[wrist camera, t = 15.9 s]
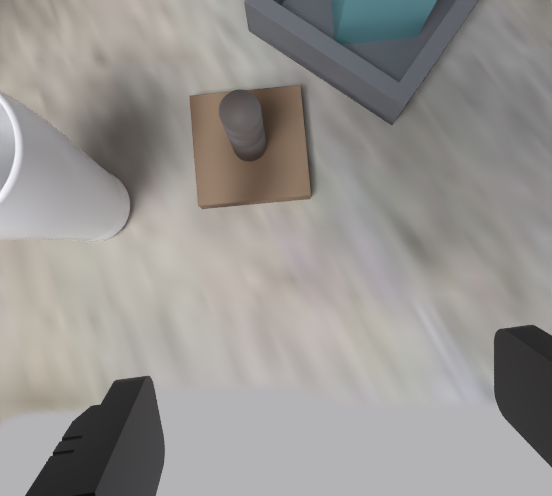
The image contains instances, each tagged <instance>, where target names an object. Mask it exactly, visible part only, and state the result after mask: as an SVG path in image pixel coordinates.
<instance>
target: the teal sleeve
mask: <svg viewBox="0 0 552 496" xmlns="http://www.w3.org/2000/svg"><path fill="white" fill-rule="evenodd" d="M436 1H437V0H331V8H332V17H333V27H334V36H335V41H336V42H338V43H339V44H341V45H345V44H355V43H364V42H374V41H384V40H394V39H403V38H413V37H417V36H418V35H419V33H420V31H421V29H422V27H423V25H424V23H425V22H426V20H427V18H428V16H429V14H430V12H431V10H432V9H433V7H434V5H435V3H436Z"/></svg>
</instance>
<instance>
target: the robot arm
mask: <svg viewBox="0 0 552 496" xmlns="http://www.w3.org/2000/svg"><path fill="white" fill-rule="evenodd" d="M494 392H495V398H496V402H497V405H498V407H499V410H500V411H501V413H502V415H503V416H504V418H505V419H506V420H507V421H508V422H509V423H510V424H511V425H512V426H513V427H514V428H515V429H516V431H517V432H519V434H520V435H521V436H522V437H523V438H524V439H525V440H526V441H527V442H528V443H529V444H530V445H531V446H532V447H533V448H534V449H535V450H536V451H537V452H538V453H539V455H540V456H541V457H542V458H543V459H544V460H545V461H546V462H547V463H548V464H549V465H550V466H551V467H552V336H551V335H550V334H548V333H546V332H545V331H543V330H541V329H540V328H538V327H537V326H534V325H526V326H519V327H512V328H504V329H499V330H498V331H497V332H496V334H495V338H494ZM164 455H165V445H164V436H163V430H162V426H161V420H160V415H159V410H158V405H157V400H156V394H155V389H154V385H153V381H152V379H151V377H150V376H143V377H135V378H128V379H120V380H115V381H114V382H113V384H112V386H111V387H110V389H109V391H108V393H107V394H106V396H105V398H104V400H103V401H102V403H101V405H94V406H91V407H89V408H88V409H87V410H86V411H85V412H83V413H82V414H81V415H80V416H79V417H77V418H76V419H75V420H74V421H73V422H72V423H71V425H70V426H69V428H68V430H67V431H66V433H65V434H64V436H63V437H62V441H61V442H59V444H58V445H57V447H56V449H55V450H54V452H53V456H50V458H49V459H48V461H47V462H46V464H45V466H44V467H43V469H42V470H41V472H40V474H39V475H38V477H37V478H36V480H35V481H34V483H33V484H32V486H31V488H30V489H29V491H28V492H27V494H26V495H25V496H156V492H157V488H158V485H159V481H160V477H161V473H162V469H163V465H164Z"/></svg>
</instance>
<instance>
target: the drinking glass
mask: <svg viewBox="0 0 552 496" xmlns="http://www.w3.org/2000/svg"><path fill="white" fill-rule="evenodd" d="M129 213H130V198H129V194H128V192H127V190H126V188H125V186H124V185H123V183H122V182H121V181H120V180H119V179H118V178H117V177H115V176H114V175H112V174H111V173H109V172H107V171H106V170H105V169H103V168H102V167H101V166H100V165H99V164H98V163H96V162H95V161H94V160H93V159H92V158H90V157H89V156H88V155H87V154H86V153H85V152H84V151H82V150H81V149H80V148H79V147H78V146H77V145H75V144H74V143H73V142H72V141H71V140H70V139H69V138H67V137H66V136H65V135H64V134H63V133H62V132H60V131H59V130H58V129H57V128H56V127H54V126H53V125H52V124H51V123H50V122H48V121H47V120H46V119H44V118H43V117H42V116H40V115H39V114H37V113H36V112H34V111H33V110H31V109H30V108H29V107H27V106H25V105H24V104H22V103H21V102H19V101H18V100H16V99H14V98H13V97H11V96H9V95H7V94H6V93H4V92H2V91H0V240H76V241H84V242H100V241H104V240H107V239H109V238H111V237H113V236H114V235H116V234H117V233H118V232H119V231H120V230H121V229H122V228H123V226H124V225H125V223H126V222H127V219H128V217H129Z"/></svg>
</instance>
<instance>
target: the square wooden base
mask: <svg viewBox="0 0 552 496" xmlns="http://www.w3.org/2000/svg"><path fill="white" fill-rule="evenodd" d="M190 108H191V120H192V133H193V146H194V159H195V171H196V184H197V197H198V206H199V207H201V208H202V209H206V208H217V207H228V206H238V205H249V204H260V203H270V202H281V201H292V200H303V199H310V197H311V190H310V180H309V170H308V159H307V149H306V138H305V128H304V118H303V107H302V97H301V87H300V85H295V86H285V87H275V88H265V89H255V90H235V91H232V92H224V93H214V94H204V95H194V96H190Z"/></svg>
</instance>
